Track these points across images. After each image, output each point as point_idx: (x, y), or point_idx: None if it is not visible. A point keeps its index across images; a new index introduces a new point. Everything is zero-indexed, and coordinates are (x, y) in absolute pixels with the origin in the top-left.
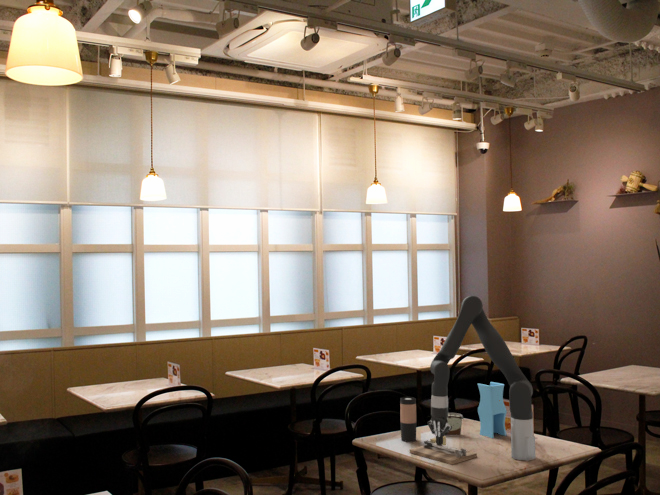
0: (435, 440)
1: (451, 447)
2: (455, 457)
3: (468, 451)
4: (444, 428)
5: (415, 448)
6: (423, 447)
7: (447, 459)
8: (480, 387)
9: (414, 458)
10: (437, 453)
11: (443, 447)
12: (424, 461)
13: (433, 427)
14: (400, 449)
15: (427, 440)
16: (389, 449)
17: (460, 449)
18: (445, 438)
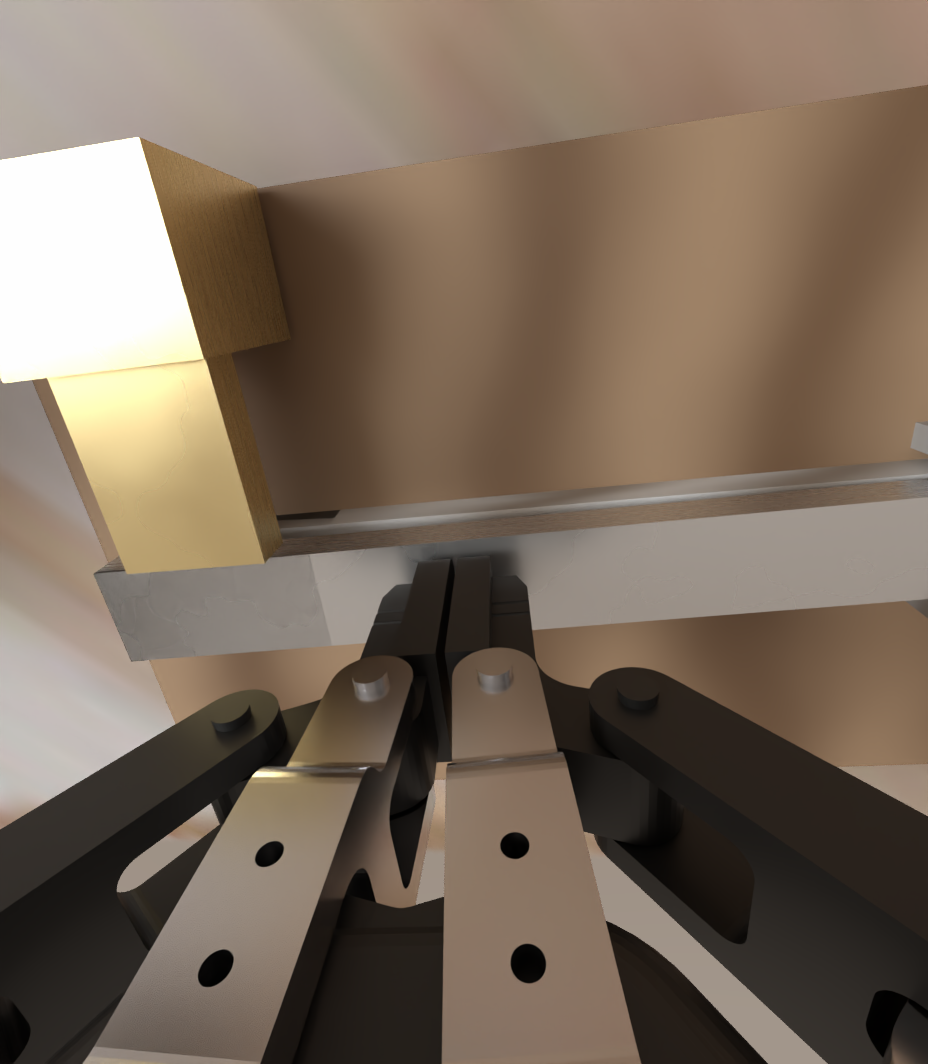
0: (266, 558)
1: (743, 528)
2: (914, 621)
3: (916, 98)
4: (588, 856)
5: (191, 714)
6: None
7: (868, 759)
8: None
9: (437, 839)
10: (566, 669)
11: (605, 616)
12: (591, 840)
13: (120, 932)
14: (45, 737)
15: (108, 582)
16: (8, 809)
17: (671, 135)
18: (180, 178)
